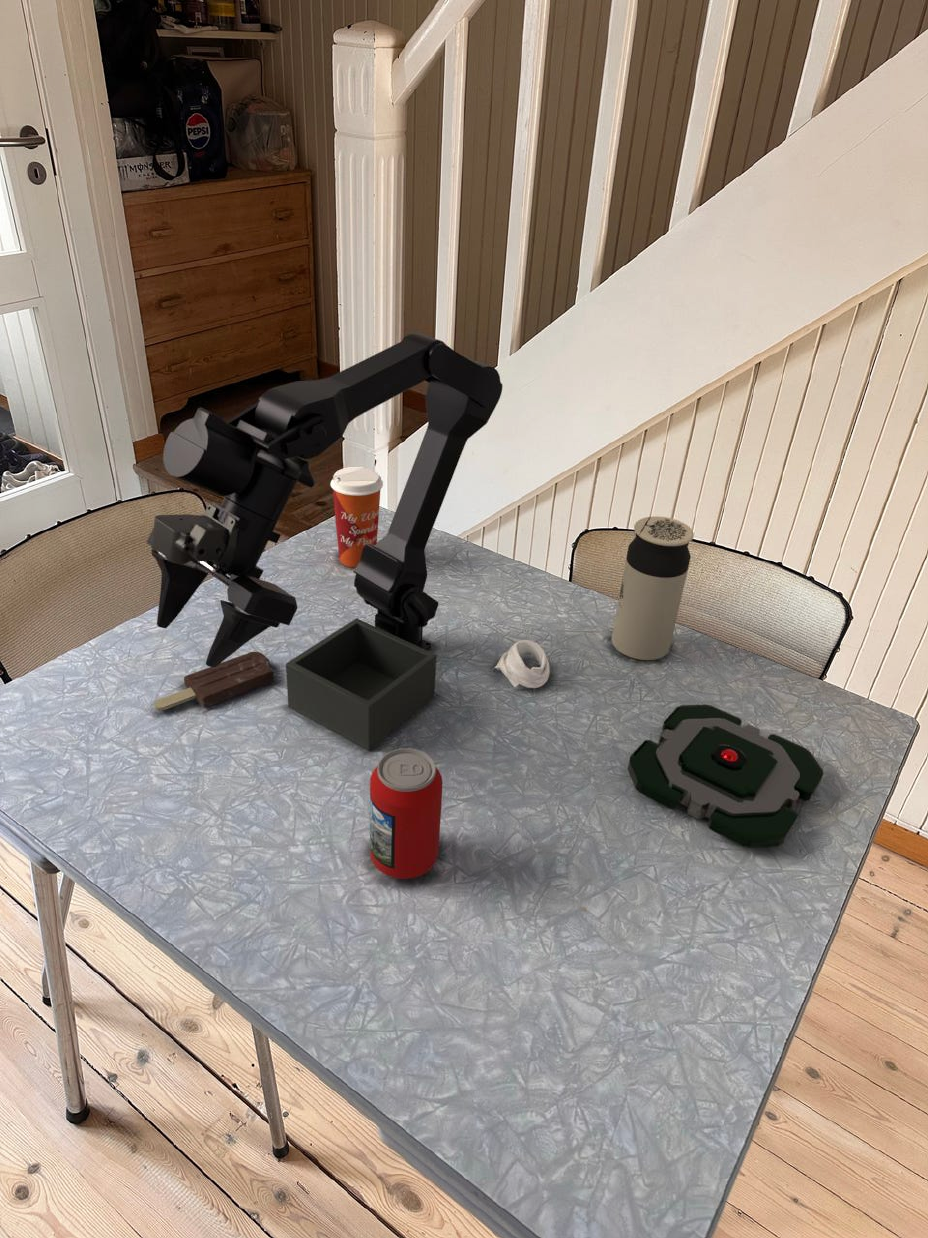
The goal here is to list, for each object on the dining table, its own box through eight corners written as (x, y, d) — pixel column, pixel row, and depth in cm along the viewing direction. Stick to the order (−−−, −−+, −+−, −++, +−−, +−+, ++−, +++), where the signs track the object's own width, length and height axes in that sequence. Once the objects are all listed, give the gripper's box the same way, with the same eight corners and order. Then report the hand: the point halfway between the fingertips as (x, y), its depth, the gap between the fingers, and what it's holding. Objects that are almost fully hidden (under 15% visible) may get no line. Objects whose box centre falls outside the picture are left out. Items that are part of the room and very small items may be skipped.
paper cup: (343, 575, 131) (341, 490, 123) (325, 552, 136) (322, 469, 128) (390, 565, 134) (392, 482, 126) (371, 543, 139) (371, 462, 132)
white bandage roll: (522, 657, 117) (524, 625, 115) (563, 674, 113) (566, 642, 111) (484, 679, 112) (486, 645, 109) (526, 698, 108) (529, 664, 106)
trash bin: (357, 659, 113) (356, 617, 109) (434, 697, 107) (436, 654, 104) (288, 707, 104) (285, 663, 101) (368, 751, 98) (368, 706, 95)
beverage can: (370, 832, 88) (370, 743, 82) (436, 831, 89) (441, 742, 82) (369, 885, 83) (369, 795, 76) (440, 883, 83) (446, 793, 77)
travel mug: (677, 642, 121) (704, 526, 111) (656, 669, 115) (682, 550, 105) (625, 622, 124) (646, 509, 114) (601, 648, 118) (622, 531, 109)
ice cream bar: (164, 724, 100) (280, 679, 109) (162, 713, 99) (279, 668, 108) (146, 701, 103) (259, 658, 112) (144, 690, 103) (258, 648, 111)
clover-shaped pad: (613, 788, 96) (619, 757, 93) (683, 709, 108) (690, 680, 106) (769, 870, 87) (781, 839, 85) (825, 776, 100) (837, 746, 97)
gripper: (137, 452, 86) (71, 592, 87) (246, 518, 76) (170, 676, 77) (222, 488, 95) (161, 614, 96) (329, 551, 85) (260, 692, 86)
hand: (184, 646), depth 89 cm, fingers open, 9 cm apart
